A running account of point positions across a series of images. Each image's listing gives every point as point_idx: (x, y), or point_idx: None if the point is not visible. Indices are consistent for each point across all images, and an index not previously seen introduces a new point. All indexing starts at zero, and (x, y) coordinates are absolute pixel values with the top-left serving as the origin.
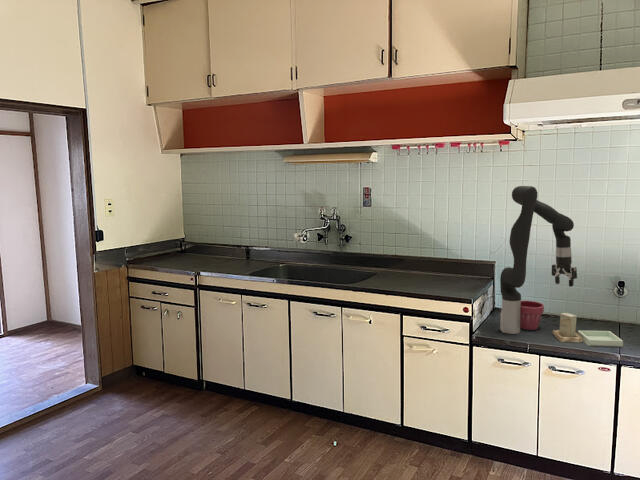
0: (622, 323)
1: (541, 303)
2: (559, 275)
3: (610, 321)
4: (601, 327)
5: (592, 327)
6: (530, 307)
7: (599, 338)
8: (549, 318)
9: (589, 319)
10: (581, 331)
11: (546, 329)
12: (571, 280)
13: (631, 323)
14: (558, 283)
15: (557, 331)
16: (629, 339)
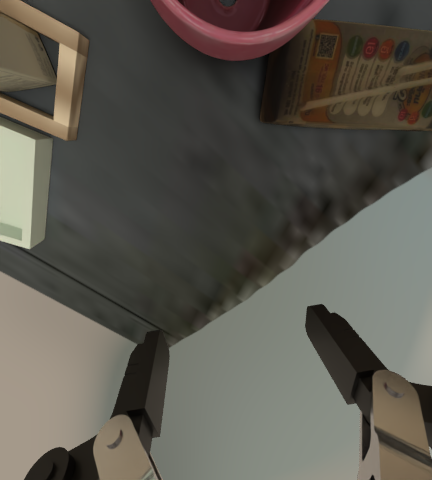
0: None
1: (220, 32)
2: (360, 428)
3: (187, 328)
4: (144, 280)
5: (150, 259)
6: (298, 9)
7: (5, 189)
8: (284, 205)
9: (221, 300)
10: (26, 149)
11: (166, 73)
12: (115, 411)
13: None
14: (307, 322)
15: (60, 46)
16: (20, 271)
